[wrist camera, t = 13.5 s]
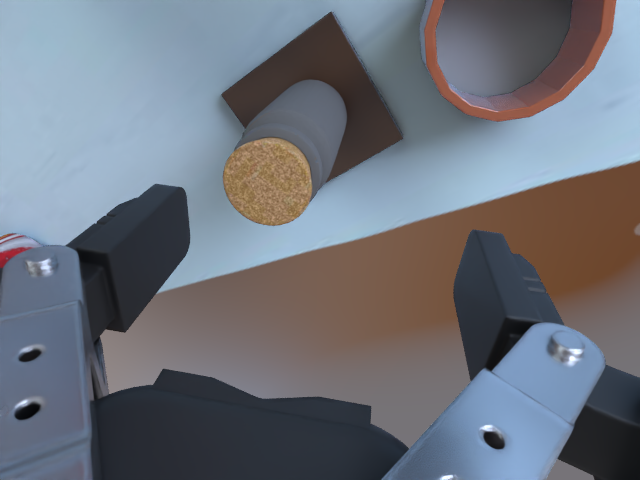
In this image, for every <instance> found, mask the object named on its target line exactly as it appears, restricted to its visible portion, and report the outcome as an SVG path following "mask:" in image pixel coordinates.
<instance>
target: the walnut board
mask: <svg viewBox="0 0 640 480" xmlns="http://www.w3.org/2000/svg"><path fill="white" fill-rule="evenodd" d="M303 80H319V81H322V82H325V83H327V84H329V85H330V86H332V87H333V88H334V89H335V90H336V91H337V92H338V93H339V94H340V96H341V97H342V99H343V101H344V103H345V107H346V111H347V123H346V128H345V131H344V134H343V137H342V141H341V144H340V147H339V150H338V153H337V156H336V159H335V162H334V164H333V167H332V170H331V172H330V175H329V177H328V179H327V181H326V182H328V181H330V180H331V179H333V178H335V177H337V176H338V175H340V174H342V173H344V172H346V171H347V170H349V169H351V168H353V167H354V166H356V165H358V164H360V163H361V162H363V161H365V160H367V159H368V158H370V157H372V156H374V155H375V154H377V153H379V152H381V151H382V150H384V149H386V148H388V147H389V146H391V145H393V144H395V143H396V142H398V141H400V140H402V139H403V135H402V133H401V131H400V129H399V127H398V126H397V124H396V122H395V120H394V119H393V117H392V115H391V113H390V112H389V110H388V108H387V106H386V104H385V103H384V101H383V99H382V97H381V96H380V94H379V92H378V90H377V88H376V87H375V85H374V83H373V81H372V80H371V78H370V76H369V74H368V72H367V71H366V69H365V67H364V65H363V64H362V62H361V60H360V58H359V56H358V55H357V53H356V51H355V49H354V48H353V46H352V44H351V42H350V40H349V39H348V37H347V35H346V33H345V32H344V30H343V28H342V26H341V24H340V23H339V21H338V19H337V17H336V16H335V14H334V12H333V11H332V12H330V13H328V14H327V15H326V16H324V17H323V18H322V19H320V20H319V21H318V22H316V23H315V24H314V25H313V26H311V27H310V28H309V29H307V30H306V31H305V32H303V33H302V34H301V35H299V36H298V37H297V38H295V39H294V40H293V41H291V42H290V43H289V44H287V45H286V46H285V47H283V48H282V49H281V50H279V51H278V52H277V53H275V54H274V55H273V56H271V57H270V58H269V59H267V60H266V61H265V62H263V63H262V64H261V65H259V66H258V67H257V68H255V69H254V70H253V71H251V72H250V73H249V74H247V75H246V76H245V77H243V78H242V79H241V80H239V81H238V82H237V83H236V84H234V85H233V86H232V87H230V88H229V89H228V90H226V91H225V92H224V93H222V94H221V95H222V97H223V98H224V99H225V101H226V102H227V104H228V105H229V106H230V108H231V109H232V111H233V112H234V113H235V115H236V116H237V118H238V119H239V120H240V122H241V123H242V125H243V126H244V127H245V129H246V127H247V126H248V124H249V123H250V122H251V121H252V120H253V119H254V118H255V117H256V116H257V115H258V114H259V113H260V112H261V111H262V110H263V109H265V108H266V107H267V106H268V105H269V104H270V103H271V102H273V101H274V100H275V99H276V98H277V97H278V96H280V95H281V94H282V93H283V92H284V91H285V90H287V89H288V88H289V87H291V86H292V85H294V84H295V83H298V82H300V81H303ZM326 182H325V183H326Z"/></svg>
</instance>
